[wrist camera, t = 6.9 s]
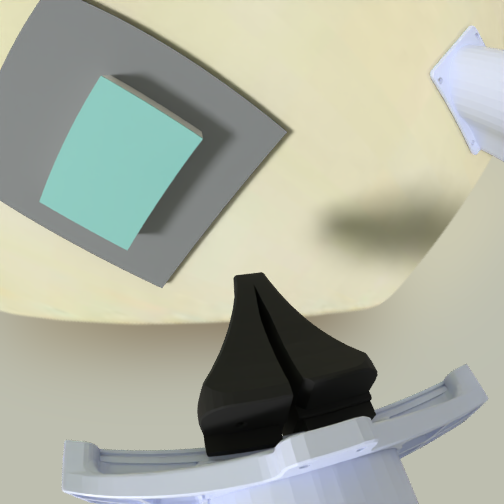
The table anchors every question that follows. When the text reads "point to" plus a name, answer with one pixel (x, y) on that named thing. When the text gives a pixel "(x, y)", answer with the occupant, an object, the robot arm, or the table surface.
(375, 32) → the table surface
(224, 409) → the robot arm
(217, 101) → the mat
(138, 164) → the tile
